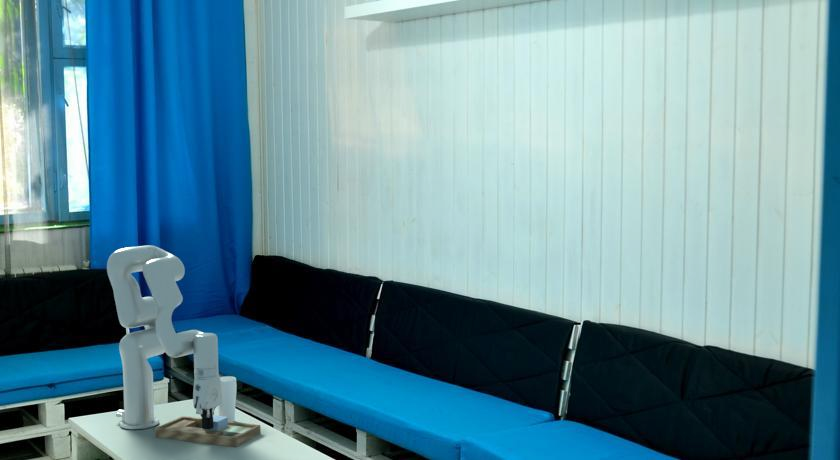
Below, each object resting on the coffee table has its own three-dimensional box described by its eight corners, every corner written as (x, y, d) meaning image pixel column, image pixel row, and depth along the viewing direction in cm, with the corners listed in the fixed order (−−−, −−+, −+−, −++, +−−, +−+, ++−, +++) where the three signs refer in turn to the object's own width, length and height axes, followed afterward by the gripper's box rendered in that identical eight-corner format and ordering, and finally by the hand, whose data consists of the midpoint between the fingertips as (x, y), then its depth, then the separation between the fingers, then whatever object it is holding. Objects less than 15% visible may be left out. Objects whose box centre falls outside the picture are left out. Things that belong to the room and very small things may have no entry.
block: (201, 429, 302) (201, 420, 302) (212, 424, 307) (212, 415, 307) (217, 431, 300) (217, 421, 299) (227, 425, 305) (227, 416, 305)
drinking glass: (232, 425, 313) (231, 381, 312) (213, 424, 314) (212, 380, 313) (240, 419, 320) (239, 376, 318) (221, 418, 321) (220, 375, 320)
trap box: (155, 436, 300) (155, 428, 300) (182, 424, 314) (182, 416, 314) (235, 447, 290) (235, 438, 290) (260, 433, 304) (260, 425, 303)
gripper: (202, 378, 289) (204, 436, 290) (229, 368, 303) (230, 423, 304) (182, 376, 292) (184, 433, 293) (209, 366, 306) (211, 421, 307)
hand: (207, 428), depth 299 cm, fingers closed
